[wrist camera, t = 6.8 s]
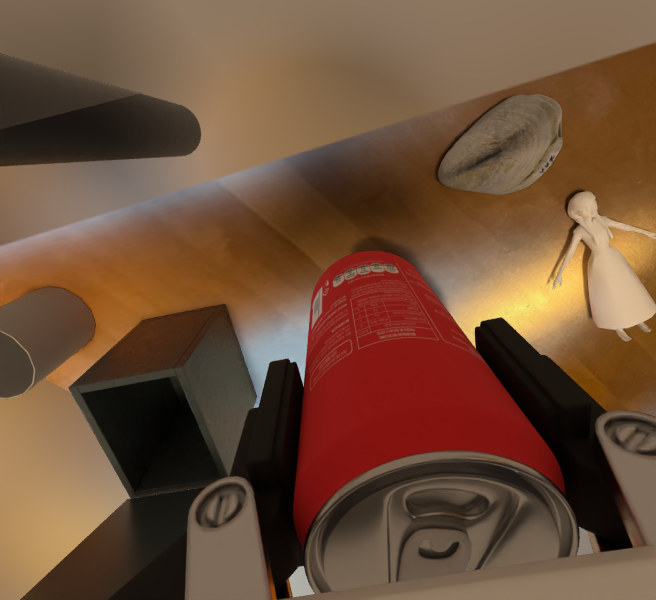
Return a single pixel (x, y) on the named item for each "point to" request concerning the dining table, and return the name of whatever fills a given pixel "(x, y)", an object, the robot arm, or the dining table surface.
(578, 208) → the woman figurine
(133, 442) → the bin
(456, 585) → the robot arm
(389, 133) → the dining table surface
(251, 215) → the dining table surface
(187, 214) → the dining table surface
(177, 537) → the bin lid
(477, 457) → the beverage can
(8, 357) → the cup
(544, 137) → the seashell
